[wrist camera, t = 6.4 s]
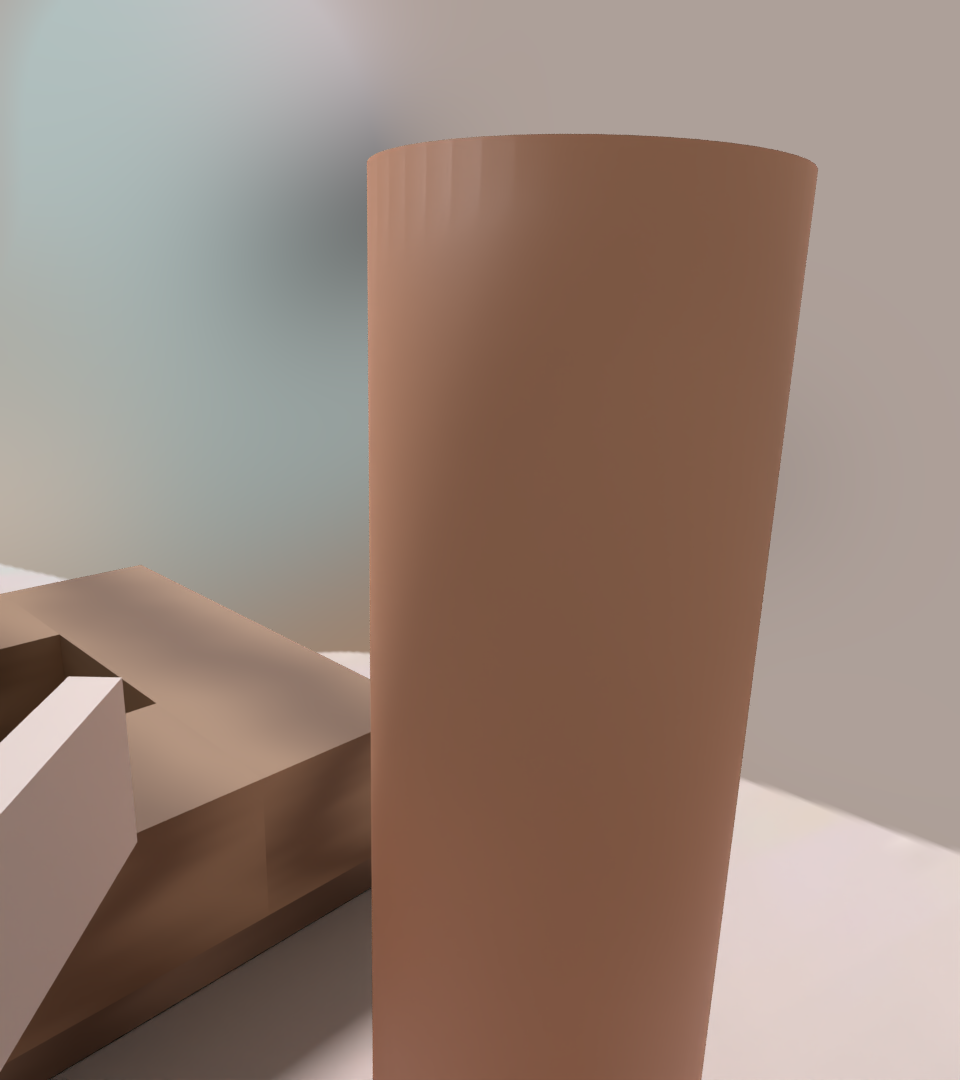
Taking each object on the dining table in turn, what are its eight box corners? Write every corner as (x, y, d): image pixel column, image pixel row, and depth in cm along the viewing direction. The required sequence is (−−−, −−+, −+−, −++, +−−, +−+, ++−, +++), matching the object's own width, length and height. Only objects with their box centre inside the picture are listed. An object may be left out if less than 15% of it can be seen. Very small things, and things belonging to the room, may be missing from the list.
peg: (537, 1594, 11) (652, 111, 6) (314, 1297, 15) (276, 162, 10) (722, 1295, 15) (888, 184, 10) (508, 1108, 18) (554, 203, 13)
